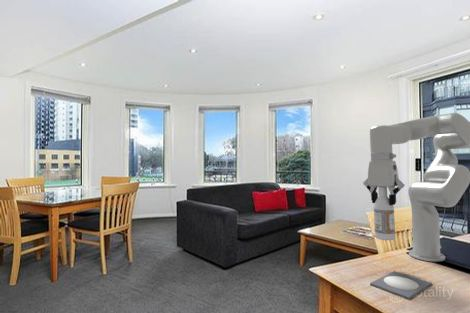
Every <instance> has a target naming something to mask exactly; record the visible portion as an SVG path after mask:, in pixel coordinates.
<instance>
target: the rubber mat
mask: <svg viewBox="0 0 470 313" xmlns="http://www.w3.org/2000/svg"><path fill="white" fill-rule="evenodd" d="M369 285H370V286H373V287H375V288H378V289H381V290H383V291H386V292H389V293H390V294H392V295H393V294H394V295H396V296H399V297H402V298H404V299H407V300H410V299H412V298H413V297H415V296H417V295H418V294H420V293H421V292H423V291H424V290H426V289H427V288H429V287H431V286H432V285H433V284H432V282H430V281H427V280H423V279H421V278H418V277H414V276H411V275H407V274H405V273H402V272H398V271H392V272H389V273H387V274H386V275H383V276H382V277H380V278H378V279H375V280H374V281H371V282H369Z"/></svg>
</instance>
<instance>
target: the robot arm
mask: <svg viewBox="0 0 470 313" xmlns="http://www.w3.org/2000/svg"><path fill="white" fill-rule="evenodd" d="M430 137H432V142H433V143H432V144H433V148H434V153H435V156H434V158H433V160H432V161H431V163H430V164H429V165H428V167H427V169H426V170H425V172H424V173H423V181H415V182H413V183H411V184H410V185H409V187H408V189H407V191H408V192H407V194H408V197H409V201H410V208H411V229H412V249H410V250H409V251H408V255H409V256H410V257H412V258H414V259H416V260H421V261H425V262H434V263H437V262H439V263H440V262H443V261H446V255H444V254H443V253H441V248H442V245H441V238H440V237H441V236H440V234H441V232H440V231H441V230H440V215H439V212H438V211H437V208H436V207H441V208H442V207H443V208H452V207H454V206H456V205H457V204H458V203H459V201H460V200H461V198H462V197H463V195H464V193H465V192H466V190H467V188H468V187H469V185H470V170H469V168H468V167H467V166H465V165H463V164H459V160H458V158H457V156H456V154H454V153H453V152H452V150H458V149H459V150H461V149H470V121H469V120H468V119H467V118H466V117H465V116H463V115H461V114H460V113H457V112H452V113H451V112H450V113H444V114H437V115H430V116H427V117H421V118H416V119H412V120H408V121H404V122H399V123H396V124H395V123H394V124H391V125H374V126H372V127H370V129H369V144H370V146H369V147H370V161H369V163H368V169H367V170H368V171H367V178H366V179H365V180H364V181H363V186H365V188H366V189H367V190H368V192H369V193H370V196H371V203H372V204H374V203H375V201H376V200H377V198H378V197H379V192H377V190H378V189H379V188H378V187H387V190H388V191H389V195H388V198H389V204H390V205H393V206H395V205H396V203H397V194H398V193H399V192H400V191H401V190H402V189H403V188H404V187H405V184H404V183H403V181H402V180H400V178H399V171H398V165H397V161H396V160H394V158H397V154H395V153H394V152H393V145H400V144H401V145H403V144H405V143H408V142H410V141H417V140H423V139H427V138H430ZM435 206H436V207H435Z"/></svg>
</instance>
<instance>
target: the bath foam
mask: <svg viewBox="0 0 470 313" xmlns="http://www.w3.org/2000/svg"><path fill="white" fill-rule="evenodd" d="M377 189H378V198H377V200H376V201H375V203H373V219H374V237H375V238H376V239H377V240H381V241H394V240H395V239H396V227H395V225H396V222H395V207H394V205H390V204H389V196H388V187H378V188H377Z"/></svg>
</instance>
